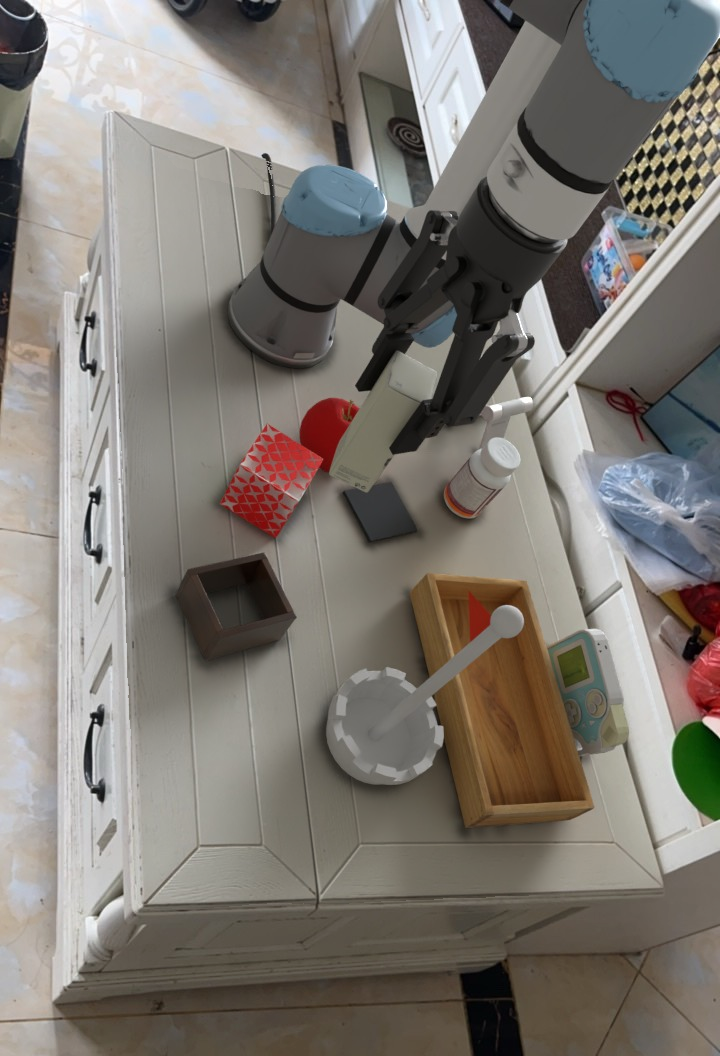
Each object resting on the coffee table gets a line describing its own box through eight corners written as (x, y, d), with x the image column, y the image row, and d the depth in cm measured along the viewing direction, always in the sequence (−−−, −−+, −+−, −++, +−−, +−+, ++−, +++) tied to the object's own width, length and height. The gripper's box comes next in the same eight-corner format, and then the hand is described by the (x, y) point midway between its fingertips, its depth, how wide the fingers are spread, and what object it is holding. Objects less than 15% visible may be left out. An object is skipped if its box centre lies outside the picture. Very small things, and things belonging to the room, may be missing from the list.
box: (366, 495, 85) (430, 410, 75) (326, 475, 84) (384, 386, 73) (377, 457, 88) (440, 370, 77) (338, 437, 87) (396, 346, 76)
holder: (174, 594, 98) (187, 569, 93) (249, 576, 103) (264, 551, 99) (205, 661, 96) (219, 638, 91) (280, 639, 101) (297, 617, 97)
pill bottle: (470, 483, 127) (514, 433, 118) (485, 519, 125) (531, 471, 116) (435, 484, 124) (477, 433, 115) (450, 521, 121) (494, 471, 112)
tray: (407, 593, 112) (428, 570, 108) (505, 600, 119) (528, 578, 114) (460, 830, 99) (486, 815, 95) (566, 822, 106) (595, 808, 102)
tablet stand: (480, 406, 136) (510, 369, 129) (508, 446, 134) (539, 411, 127) (441, 416, 131) (470, 377, 124) (469, 458, 129) (500, 421, 122)
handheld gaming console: (560, 764, 113) (532, 652, 116) (577, 761, 114) (548, 651, 118) (620, 744, 103) (587, 624, 107) (637, 742, 105) (605, 623, 108)
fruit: (363, 454, 120) (396, 406, 112) (340, 495, 115) (372, 448, 107) (306, 416, 119) (335, 365, 111) (279, 457, 114) (307, 406, 106)
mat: (342, 492, 115) (344, 490, 115) (389, 483, 120) (391, 481, 119) (369, 543, 113) (371, 541, 113) (416, 532, 118) (418, 530, 117)
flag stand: (434, 785, 101) (599, 677, 77) (333, 800, 94) (478, 688, 71) (404, 682, 106) (549, 549, 82) (305, 690, 99) (432, 549, 75)
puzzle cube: (246, 463, 111) (267, 423, 104) (300, 496, 112) (323, 459, 106) (219, 504, 106) (239, 464, 100) (275, 538, 107) (298, 501, 101)
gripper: (425, 103, 62) (306, 337, 80) (558, 315, 57) (399, 512, 75) (501, 112, 66) (372, 333, 84) (632, 311, 61) (464, 499, 79)
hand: (385, 417), depth 80 cm, fingers closed on box, 6 cm apart
